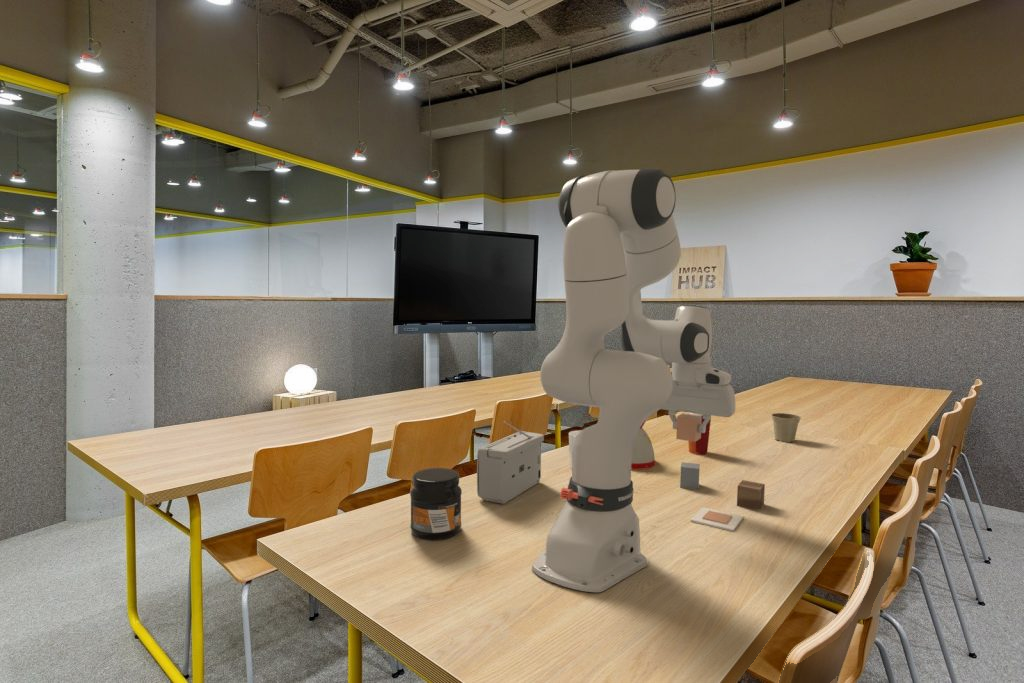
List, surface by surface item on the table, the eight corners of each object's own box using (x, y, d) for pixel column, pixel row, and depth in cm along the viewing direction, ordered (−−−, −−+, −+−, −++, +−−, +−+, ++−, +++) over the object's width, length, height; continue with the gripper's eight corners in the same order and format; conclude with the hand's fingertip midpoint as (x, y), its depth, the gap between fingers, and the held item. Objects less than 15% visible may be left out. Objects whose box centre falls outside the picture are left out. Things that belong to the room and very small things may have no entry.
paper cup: (713, 451, 179) (714, 408, 178) (707, 456, 173) (709, 412, 172) (688, 447, 184) (690, 405, 182) (681, 452, 177) (683, 409, 176)
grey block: (698, 489, 143) (699, 468, 143) (680, 487, 145) (680, 466, 144) (698, 484, 147) (699, 464, 147) (681, 482, 149) (681, 462, 148)
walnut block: (759, 510, 129) (760, 489, 129) (736, 506, 132) (737, 485, 132) (763, 504, 133) (764, 484, 133) (741, 500, 136) (742, 480, 136)
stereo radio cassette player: (518, 477, 152) (518, 404, 150) (545, 482, 147) (546, 407, 146) (475, 501, 133) (475, 418, 132) (504, 507, 129) (505, 422, 128)
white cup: (594, 472, 156) (595, 437, 155) (566, 470, 157) (567, 436, 157) (596, 464, 164) (597, 431, 163) (569, 462, 165) (570, 429, 164)
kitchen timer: (646, 472, 157) (648, 419, 156) (600, 464, 164) (601, 414, 163) (659, 459, 169) (661, 411, 168) (616, 453, 176) (617, 406, 175)
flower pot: (805, 443, 190) (806, 418, 189) (777, 443, 190) (778, 418, 189) (791, 437, 199) (793, 413, 199) (765, 436, 199) (766, 412, 199)
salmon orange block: (695, 441, 131) (696, 418, 131) (676, 438, 134) (677, 416, 134) (700, 438, 135) (701, 415, 135) (682, 435, 138) (683, 413, 137)
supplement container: (441, 546, 109) (441, 486, 108) (399, 534, 114) (399, 477, 113) (471, 527, 118) (471, 471, 117) (431, 517, 123) (431, 464, 122)
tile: (733, 531, 117) (733, 528, 117) (690, 521, 122) (690, 518, 122) (743, 517, 125) (743, 514, 125) (702, 508, 130) (702, 506, 130)
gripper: (644, 371, 137) (642, 426, 138) (731, 378, 125) (729, 439, 126) (653, 368, 142) (652, 422, 143) (738, 375, 130) (736, 434, 131)
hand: (689, 430), depth 134 cm, fingers closed on salmon orange block, 4 cm apart
